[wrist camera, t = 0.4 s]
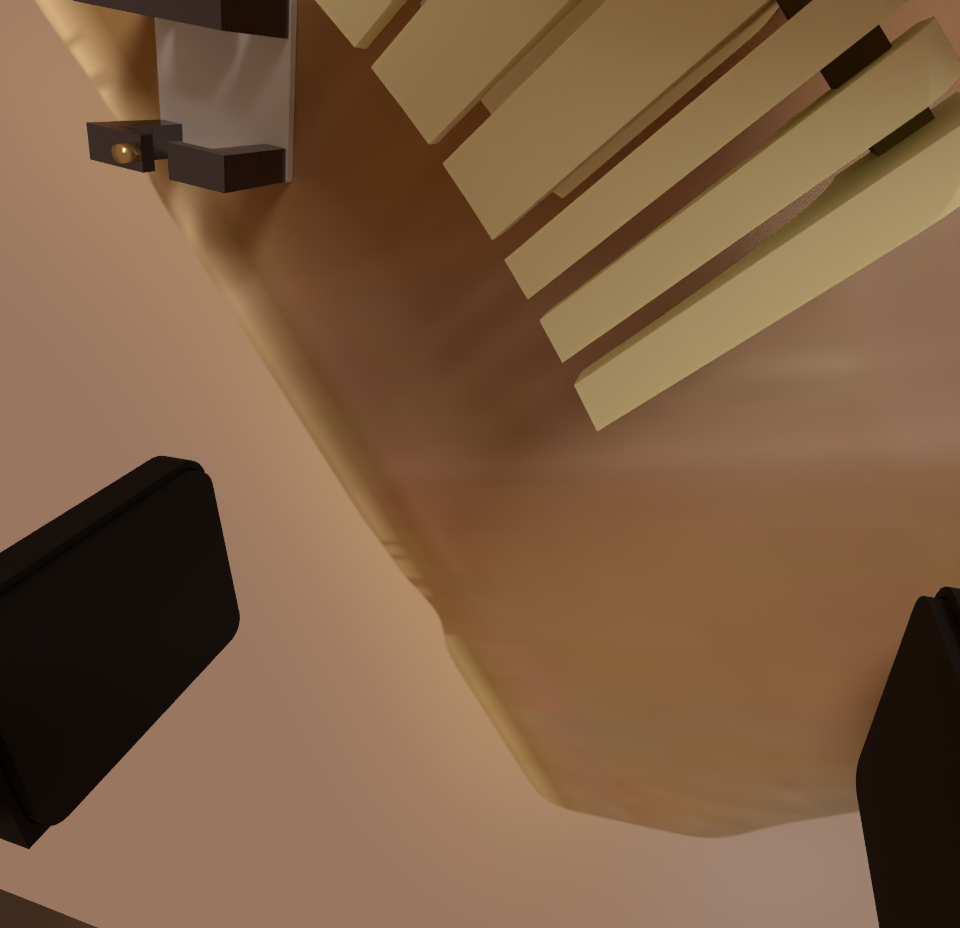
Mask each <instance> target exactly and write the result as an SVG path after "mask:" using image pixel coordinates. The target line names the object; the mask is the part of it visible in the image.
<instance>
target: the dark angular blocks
mask: <svg viewBox="0 0 960 928" xmlns="http://www.w3.org/2000/svg"><path fill="white" fill-rule="evenodd" d="M87 132H88V141H89V150H90V159H91V160H95V161H99V162H104V163H107V164H112V165H115V166H119V167H123V168H127V169H131V170H135V171H139V172H151V171H155V164H154V160H158V159H168V166H169V179H171V180H174V181H178V182H182V183H186V184H190V185H194V186H198V187H202V188H206V189H210V190H214V191H218V192H222V193H228V192H234V191H239V190H244V189H249V188H255V187H260V186H265V185H271V184H276V183H281V182H285V177H286V148H282V147H278V146H273V145H269V144H257V145H247V146H237V147H227V148H217V149H210V148H206V147H202V146H197V145H193V144H189V143H185V142H183V136H182V124H179V123H175V122H171V121H167V120H137V121H112V122H87Z"/></svg>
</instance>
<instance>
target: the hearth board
mask: <svg viewBox="0 0 960 928" xmlns="http://www.w3.org/2000/svg"><path fill="white" fill-rule="evenodd" d="M154 21H155V37H156V54H157V70H158V87H159V103H160V120H167V121H171V122H175V123H179V124H182V136H183V142H185V143H189V144H193V145H197V146H202V147H206V148H210V149H217V148H227V147H237V146H247V145H257V144H269V145H273V146H278V147H282V148H286V177H285V182H291V181H292V177H293V140H294V103H295V65H296V28H297V0H289V39H283V38H275V37H267V36H259V35H252V34H244V33H236V32H228V31H221V30H216V29H211V28H206V27H201V26H196V25H191V24H186V23H181V22H176V21H171V20H166V19H162V18H157V17H154Z"/></svg>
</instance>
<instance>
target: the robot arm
mask: <svg viewBox="0 0 960 928" xmlns="http://www.w3.org/2000/svg"><path fill="white" fill-rule="evenodd" d="M239 621H240V615H239V610H238V604H237V599H236V595H235V590H234V585H233V580H232V575H231V571H230V566H229V561H228V556H227V551H226V546H225V542H224V537H223V532H222V527H221V522H220V517H219V513H218V508H217V503H216V499H215V493H214V488H213V484H212V481H211V478H210V477H209V475H208V474H206V473H205V472H204V469H203V468H202V466H201V465H200V464H199V463H197V462H195V461H191V460H185V459H179V458H173V457H167V456H157V457H154V458H152V459H151V460H149V461H147V462H145V463H144V464H142V465H141V466H139V467H137V468H136V469H134V470H133V471H131V472H129V473H128V474H126V475H124V476H123V477H121V478H120V479H118V480H116V481H115V482H113V483H112V484H110V485H108V486H107V487H105V488H104V489H102V490H100V491H99V492H97V493H96V494H94V495H92V496H91V497H89V498H88V499H86V500H84V501H83V502H81V503H79V504H78V505H76V506H75V507H73V508H71V509H70V510H68V511H67V512H65V513H64V514H62V515H61V516H59V517H57V518H55V519H54V520H52V521H50V522H49V523H47V524H46V525H44V526H42V527H41V528H39V529H38V530H36V531H34V532H33V533H31V534H30V535H28V536H27V537H25V538H23V539H22V540H20V541H18V542H17V543H15V544H14V545H12V546H10V547H9V548H7V549H6V550H4V551H2V552H1V553H0V838H1V839H3V840H6V841H9V842H11V843H14V844H17V845H19V846H22V847H25V848H27V849H30V847H31V846H32V845H33V844H34V843H35V842H36V841H37V840H38V839H39V838H40V837H41V836H42V835H43V833H45V831H46V830H47V829H48V828H49V827H50V826H52V825H56V824H58V823H60V822H62V821H63V820H64V819H65V818H66V817H67V816H69V815H70V814H71V812H72V811H73V810H74V809H75V808H76V807H77V806H78V805H79V804H80V803H81V802H82V801H83V800H84V799H85V797H86V796H87V795H88V794H89V793H90V792H91V791H92V790H93V789H94V788H95V786H97V785H98V783H99V782H100V781H101V780H102V779H103V778H104V777H105V776H106V775H107V774H108V773H109V772H110V770H111V769H112V768H113V767H114V766H115V765H116V764H117V763H118V762H119V761H120V760H121V759H122V757H123V756H124V755H125V754H126V753H127V752H128V751H129V750H130V749H131V748H132V747H133V746H134V745H135V744H136V742H137V741H138V740H139V739H140V738H141V737H142V736H143V735H144V734H145V733H146V732H147V731H148V730H149V728H150V727H151V726H152V725H153V724H154V723H155V722H156V721H157V720H158V718H160V716H161V715H162V714H163V713H164V712H165V711H166V710H167V709H168V708H169V707H170V706H171V705H172V704H173V703H174V701H175V700H176V699H177V698H178V697H179V696H180V695H181V694H182V693H183V692H184V691H185V690H186V688H187V687H188V686H189V685H190V684H191V683H192V682H193V681H194V680H195V679H196V678H197V677H198V676H199V674H200V673H201V672H202V671H203V670H204V669H205V668H206V667H207V666H208V665H209V664H210V663H211V661H212V660H213V659H214V658H215V657H216V656H217V655H218V654H219V653H220V652H221V651H222V650H223V649H224V647H225V646H226V645H227V644H228V643H229V642H230V641H231V640H232V639H233V637H234V636H235V634H236V632H237V629H238V626H239ZM856 792H857V799H858V804H859V810H860V816H861V822H862V828H863V833H864V840H865V846H866V851H867V857H868V863H869V869H870V875H871V880H872V886H873V892H874V898H875V904H876V910H877V916H878V921H879V928H960V589H958V588H952V587H943V588H941V589H940V590H939V591H938V593H937V594H936V596H935V598H933V597H927V596H921V597H919V599H918V600H917V601H916V603H915V605H914V608H913V611H912V613H911V616H910V619H909V622H908V625H907V627H906V630H905V633H904V636H903V638H902V641H901V644H900V647H899V649H898V652H897V655H896V658H895V661H894V663H893V666H892V669H891V672H890V674H889V677H888V680H887V683H886V686H885V688H884V691H883V694H882V697H881V699H880V702H879V705H878V708H877V710H876V713H875V716H874V719H873V722H872V724H871V727H870V730H869V733H868V735H867V738H866V741H865V744H864V747H863V749H862V752H861V755H860V758H859V761H858V765H857V772H856ZM0 928H97V927H94V926H92V925H89V924H87V923H84V922H82V921H79V920H77V919H74V918H72V917H69V916H67V915H64V914H62V913H59V912H57V911H54V910H52V909H49V908H47V907H44V906H42V905H39V904H37V903H34V902H32V901H29V900H27V899H24V898H22V897H19V896H16V895H14V894H12V893H9V892H6V891H4V890H1V889H0Z"/></svg>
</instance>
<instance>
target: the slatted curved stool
mask: <svg viewBox="0 0 960 928" xmlns="http://www.w3.org/2000/svg"><path fill="white" fill-rule="evenodd" d="M315 1H316V2H317V3H318V4H319V6H320V7H321V8H322V9H323V10H324V12H325V13H326V14H327V15H328V16H329V18H330V19H331V20H332V21H333V22H334V24H335V25H336V26H337V27H338V28H339V30H340V31H341V32H342V33H343V34H344V36H345V37H346V38H347V39H348V40H349V42H350V43H351V44H352V45H353V46H354V47H355V48H363V49H367V48H368V47H369V46H370V44H371V43H372V42H373V41H374V40H375V38H376V37H377V36H378V35H379V34H380V32H381V31H382V30H383V29H384V28H385V26H386V25H387V24H388V23H389V22H390V20H391V19H392V18H393V17H394V16H395V15H396V13H397V12H398V11H399V10H400V9H401V7H402V6H403V5H404V4H405V3H406V2H407V0H315ZM906 1H907V0H422V1H421V3H420V5H421V8H420V9H419V10H418V12H417V13H416V14H415V15H414V16H413V18H412V19H411V20H410V21H409V22H408V24H407V25H406V26H405V27H404V28H403V29H402V31H401V32H400V33H399V34H398V35H397V37H396V38H395V39H394V40H393V41H392V43H391V44H390V45H389V46H388V47H387V48H386V50H385V51H384V52H383V53H382V54H381V56H380V57H379V58H378V59H377V60H376V62H375V63H374V64H373V65H372V66H371V69H372V70H373V71H374V73H375V74H376V75H377V76H378V78H379V79H380V80H381V82H382V83H383V84H384V85H385V87H386V88H387V89H388V91H389V92H390V93H391V94H392V96H393V97H394V98H395V100H396V101H397V102H398V104H399V105H400V106H401V107H402V109H403V110H404V112H405V113H406V114H407V116H408V117H409V118H410V120H411V121H412V122H413V124H414V125H415V127H416V128H417V129H418V131H419V132H420V133H421V135H422V136H423V137H424V139H425V140H426V142H427V143H428V144H429V145H430V144H437V143H438V142H439V141H440V140H441V139H442V138H443V137H444V136H445V135H446V134H447V133H448V132H449V131H450V130H451V129H452V128H453V127H454V126H455V125H456V124H457V123H458V122H459V121H460V120H461V119H462V118H463V117H464V116H465V115H466V114H467V113H468V112H469V111H470V110H471V109H472V108H473V107H474V106H475V105H476V104H477V103H478V102H479V101H480V100H481V101H482V103H483V104H484V106H485V107H486V108H487V110H488V111H489V112H490V114H491V116H490V117H489V118H488V119H487V120H486V121H485V122H484V123H483V124H482V125H481V126H480V127H479V128H478V129H477V130H476V131H475V132H474V133H473V134H472V135H471V136H470V137H469V138H468V139H467V140H466V141H465V142H463V143H462V144H461V145H460V146H459V147H458V148H457V149H456V150H455V151H454V152H453V153H452V154H451V155H450V156H449V157H448V158H447V159H446V160H445V161H444V162H443V163H442V164H443V166H444V167H445V169H446V170H447V172H448V173H449V175H450V176H451V177H452V179H453V180H454V182H455V183H456V185H457V186H458V188H459V189H460V191H461V192H462V194H463V195H464V197H465V198H466V200H467V201H468V203H469V204H470V206H471V207H472V209H473V211H474V212H475V214H476V215H477V217H478V219H479V220H480V222H481V223H482V225H483V226H484V228H485V230H486V231H487V233H488V234H489V236H490V237H491V239H492V240H494V239H495V238H497V237H499V236H500V235H502V234H504V233H505V232H506V231H508V230H509V229H510V228H511V227H512V226H513V225H514V224H516V223H517V222H518V221H519V220H520V219H521V218H523V217H524V216H525V215H526V214H527V213H528V212H529V211H531V210H532V209H533V208H534V207H535V206H536V205H538V204H539V203H540V202H541V201H542V200H543V199H545V198H546V197H547V196H548V195H549V194H550V193H551V192H554V193H555V194H557V195H558V196H559V197H561V198H562V199H563V198H564V197H565V196H566V195H568V194H569V193H570V192H571V191H572V190H573V189H575V188H576V187H577V186H578V185H579V184H580V183H582V182H583V181H584V180H585V179H586V178H588V177H589V176H590V175H591V174H592V173H593V172H595V171H596V170H597V169H598V168H599V167H600V166H602V165H603V164H604V163H605V162H606V161H607V160H609V159H610V158H611V157H612V156H613V155H614V154H616V153H617V152H618V151H619V150H620V149H622V148H623V147H624V146H625V145H626V144H627V143H629V142H630V141H631V140H632V139H633V138H634V137H636V136H637V135H638V134H639V133H640V132H641V131H643V130H644V129H645V128H646V127H647V126H648V125H650V124H651V123H652V122H653V121H654V120H656V119H657V118H658V117H659V116H660V115H661V114H663V113H664V112H665V111H666V110H667V109H668V108H670V107H671V106H672V105H673V104H674V103H675V102H677V101H678V100H679V99H680V98H681V97H682V96H684V95H685V94H686V93H687V92H688V91H689V90H691V89H692V88H693V87H694V86H695V85H697V84H698V83H699V82H700V81H701V80H702V79H704V78H705V77H706V76H707V75H708V74H709V73H711V72H712V71H713V70H714V69H715V68H716V67H718V66H719V65H720V64H721V63H722V62H723V61H725V60H726V59H727V58H728V57H729V56H731V55H732V54H733V53H734V52H735V51H736V50H738V49H739V48H740V47H741V46H742V45H743V44H745V43H746V42H747V41H748V40H749V39H750V38H752V37H753V36H754V35H755V34H756V33H757V32H758V31H759V30H760V29H761V28H762V27H763V26H764V25H765V24H766V23H767V22H768V21H769V19H770V18H771V17H772V15H773V14H774V13H775V12H776V10H777V9H778V8H779V6H780V8H781V10H782V11H783V13H784V14H785V16H786V18H787V19H788V21H787V22H786V23H785V24H784V25H783V26H781V27H780V28H779V29H778V30H777V31H775V32H774V33H773V34H772V35H771V36H769V37H768V38H767V39H766V40H765V41H764V42H762V43H761V44H760V45H759V46H758V47H756V48H755V49H754V50H753V51H752V52H750V53H749V54H748V55H747V56H746V57H745V58H743V59H742V60H741V61H740V62H739V63H737V64H736V65H735V66H734V67H733V68H731V69H730V70H729V71H728V72H727V73H726V74H724V75H723V76H722V77H721V78H720V79H718V80H717V81H716V82H715V83H714V84H712V85H711V86H710V87H709V88H708V89H707V90H705V91H704V92H703V93H702V94H701V95H699V96H698V97H697V98H696V99H695V100H693V101H692V102H691V103H690V104H689V105H687V106H686V107H685V108H684V109H683V110H682V111H680V112H679V113H678V114H677V115H676V116H674V117H673V118H672V119H671V120H670V121H668V122H667V123H666V124H665V125H664V126H663V127H661V128H660V129H659V130H658V131H657V132H655V133H654V134H653V135H652V136H651V137H649V138H648V139H647V140H646V141H645V142H644V143H642V144H641V145H640V146H639V147H638V148H636V149H635V150H634V151H633V152H632V153H630V154H629V155H628V156H627V157H626V158H625V159H623V160H622V161H621V162H620V163H619V164H617V165H616V166H615V167H614V168H613V169H611V170H610V171H609V172H608V173H607V174H606V175H604V176H603V177H602V178H601V179H600V180H598V181H597V182H596V183H595V184H594V185H592V186H591V187H590V188H589V189H588V190H587V191H585V192H584V193H583V194H582V195H581V196H579V197H578V198H577V199H576V200H575V201H573V202H572V203H571V204H570V205H569V206H568V207H566V208H565V209H564V210H563V211H562V212H560V213H559V214H558V215H557V216H556V217H554V218H553V219H552V220H551V221H550V222H549V223H547V224H546V225H545V226H544V227H543V228H541V229H540V230H539V231H538V232H537V233H535V234H534V235H533V236H532V237H531V238H530V239H528V240H527V241H526V242H525V243H524V244H522V245H521V246H520V247H519V248H518V249H516V250H515V251H514V252H513V253H512V254H511V255H509V256H508V257H507V258H506V259H505V262H506V264H507V265H508V267H509V269H510V270H511V272H512V274H513V276H514V277H515V279H516V281H517V282H518V284H519V286H520V288H521V289H522V291H523V293H524V294H525V296H526V298H527V300H528V299H529V298H531V297H532V296H533V295H534V294H536V293H537V292H538V291H540V290H541V289H542V288H543V287H545V286H546V285H547V284H548V283H550V282H551V281H552V280H554V279H555V278H556V277H557V276H559V275H560V274H561V273H562V272H564V271H565V270H566V269H568V268H569V267H570V266H571V265H573V264H574V263H575V262H576V261H578V260H579V259H580V258H582V257H583V256H584V255H585V254H587V253H588V252H589V251H591V250H592V249H593V248H594V247H596V246H597V245H598V244H599V243H601V242H602V241H603V240H605V239H606V238H607V237H608V236H610V235H611V234H612V233H613V232H615V231H616V230H617V229H619V228H620V227H621V226H622V225H624V224H625V223H626V222H628V221H629V220H630V219H631V218H633V217H634V216H635V215H636V214H638V213H639V212H640V211H642V210H643V209H644V208H645V207H647V206H648V205H649V204H650V203H652V202H653V201H654V200H656V199H657V198H658V197H659V196H661V195H662V194H663V193H664V192H666V191H667V190H668V189H670V188H671V187H672V186H673V185H675V184H676V183H677V182H679V181H680V180H681V179H682V178H684V177H685V176H686V175H687V174H689V173H690V172H691V171H693V170H694V169H695V168H696V167H698V166H699V165H700V164H701V163H703V162H704V161H705V160H707V159H708V158H709V157H710V156H712V155H713V154H714V153H715V152H717V151H718V150H719V149H721V148H722V147H723V146H724V145H726V144H727V143H728V142H730V141H731V140H732V139H733V138H735V137H736V136H737V135H738V134H740V133H741V132H742V131H744V130H745V129H746V128H747V127H749V126H750V125H751V124H752V123H754V122H755V121H756V120H758V119H759V118H760V117H761V116H763V115H764V114H765V113H766V112H768V111H769V110H770V109H772V108H773V107H774V106H775V105H777V104H778V103H779V102H781V101H782V100H783V99H784V98H786V97H787V96H788V95H789V94H791V93H792V92H793V91H795V90H796V89H797V88H798V87H800V86H801V85H802V84H803V83H805V82H806V81H807V80H809V79H810V78H811V77H812V76H814V75H815V74H816V73H818V72H819V71H820V72H821V73H822V75H823V77H824V78H825V80H826V81H827V83H828V85H829V86H830V88H831V89H830V90H829V91H827V92H826V93H825V94H824V95H822V96H821V97H820V98H818V99H817V100H816V101H814V102H813V103H812V104H810V105H809V106H808V107H806V108H805V109H804V110H803V111H801V112H800V113H799V114H797V115H796V116H795V117H793V118H792V119H791V120H789V121H788V122H787V123H786V124H785V125H784V126H783V127H782V128H781V129H780V130H778V131H777V132H776V133H775V134H774V135H773V136H771V137H770V138H769V139H768V140H767V141H766V142H764V143H763V144H762V145H761V146H760V147H758V148H757V149H756V150H755V151H754V152H752V153H751V154H750V155H749V156H747V157H746V158H745V159H744V160H742V161H741V162H740V163H739V164H737V165H736V166H735V167H734V168H732V169H731V170H730V171H729V172H727V173H726V174H725V175H724V176H722V177H721V178H720V179H719V180H717V181H716V182H715V183H714V184H712V185H711V186H710V187H708V188H707V189H706V190H705V191H703V192H702V193H701V194H700V195H698V196H697V197H696V198H694V199H693V200H692V201H691V202H689V203H688V204H687V205H685V206H684V207H683V208H682V209H680V210H679V211H678V212H676V213H675V214H674V215H673V216H671V217H670V218H669V219H667V220H666V221H665V222H663V223H662V224H661V225H660V226H658V227H657V228H656V229H654V230H653V231H652V232H651V233H649V234H648V235H647V236H645V237H644V238H643V239H641V240H640V241H639V242H638V243H636V244H635V245H634V246H632V247H631V248H630V249H628V250H627V251H626V252H625V253H623V254H622V255H621V256H619V257H618V258H617V259H615V260H614V261H613V262H611V263H610V264H609V265H608V266H606V267H605V268H604V269H602V270H601V271H600V272H598V273H597V274H596V275H594V276H593V277H592V278H591V279H589V280H588V281H587V282H585V283H584V284H583V285H581V286H580V287H579V288H577V289H576V290H575V291H573V292H572V293H571V294H570V295H568V296H567V297H566V298H564V299H563V300H562V301H560V302H559V303H558V304H556V305H555V306H554V307H552V308H551V309H550V310H549V311H547V312H546V313H545V314H544V316H543V317H542V318H541V319H540V320H539V321H540V323H541V325H542V326H543V328H544V330H545V332H546V334H547V336H548V337H549V339H550V341H551V343H552V345H553V347H554V349H555V350H556V352H557V354H558V356H559V358H560V360H561V361H562V363H563V362H564V361H566V360H567V359H569V358H570V357H572V356H573V355H574V354H576V353H577V352H579V351H580V350H582V349H583V348H584V347H586V346H587V345H589V344H590V343H592V342H593V341H594V340H596V339H597V338H599V337H600V336H602V335H603V334H604V333H606V332H607V331H609V330H610V329H612V328H613V327H614V326H616V325H617V324H619V323H620V322H622V321H623V320H624V319H626V318H627V317H629V316H630V315H632V314H633V313H634V312H636V311H637V310H639V309H640V308H642V307H643V306H644V305H646V304H647V303H649V302H650V301H652V300H653V299H654V298H656V297H657V296H659V295H660V294H662V293H663V292H664V291H666V290H667V289H669V288H670V287H672V286H673V285H674V284H676V283H677V282H679V281H680V280H682V279H683V278H684V277H686V276H687V275H689V274H690V273H692V272H693V271H694V270H696V269H697V268H699V267H700V266H702V265H703V264H704V263H706V262H707V261H709V260H710V259H712V258H713V257H714V256H716V255H717V254H719V253H720V252H722V251H723V250H724V249H726V248H727V247H729V246H730V245H732V244H733V243H734V242H736V241H737V240H739V239H740V238H742V237H743V236H744V235H746V234H747V233H749V232H750V231H752V230H753V229H754V228H756V227H757V226H759V225H760V224H762V223H763V222H764V221H766V220H767V219H769V218H770V217H772V216H773V215H774V214H776V213H777V212H779V211H780V210H782V209H783V208H784V207H786V206H787V205H789V204H790V203H792V202H793V201H794V200H796V199H797V198H799V197H800V196H802V195H803V194H804V193H806V192H807V191H809V190H810V189H812V188H813V187H814V186H816V185H817V184H819V183H820V182H822V181H823V180H824V179H826V178H827V177H829V176H830V175H832V174H833V173H834V172H836V171H837V170H839V169H840V168H842V167H843V166H844V165H846V164H847V163H849V162H850V161H852V160H853V159H854V158H856V157H857V156H859V155H860V154H862V153H863V152H864V151H866V150H867V149H869V150H870V152H869V153H868V154H867V155H865V156H864V157H862V158H861V159H859V160H858V161H857V162H855V163H854V164H852V165H851V166H849V167H848V168H846V169H845V170H844V171H842V172H841V173H839V174H838V175H836V176H835V178H834V180H833V181H832V183H831V184H830V185H829V186H828V188H827V189H826V190H825V191H824V192H823V193H822V194H821V195H820V196H819V197H818V198H817V199H816V200H815V201H814V202H813V203H812V204H810V205H809V206H808V207H807V208H806V209H805V210H804V211H802V212H801V213H800V214H799V215H798V216H796V217H795V218H794V219H793V220H792V221H790V222H789V223H788V224H787V225H785V226H784V227H783V228H781V229H780V230H779V231H778V232H776V233H775V234H774V235H772V236H771V237H770V238H769V239H767V240H766V241H765V242H763V243H762V244H761V245H759V246H758V247H757V248H755V249H754V250H753V251H751V252H750V253H749V254H747V255H746V256H745V257H743V258H742V259H740V260H739V261H738V262H736V263H735V264H734V265H732V266H731V267H729V268H728V269H727V270H725V271H724V272H723V273H721V274H720V275H718V276H717V277H716V278H714V279H713V280H711V281H710V282H709V283H707V284H706V285H704V286H703V287H702V288H700V289H699V290H697V291H696V292H695V293H693V294H692V295H690V296H689V297H688V298H686V299H685V300H683V301H682V302H680V303H679V304H678V305H676V306H675V307H673V308H672V309H671V310H669V311H668V312H666V313H665V314H663V315H662V316H661V317H659V318H658V319H656V320H655V321H653V322H652V323H650V324H649V325H648V326H646V327H645V328H643V329H642V330H640V331H639V332H638V333H636V334H635V335H633V336H632V337H630V338H629V339H627V340H626V341H625V342H623V343H622V344H620V345H619V346H617V347H616V348H614V349H613V350H611V351H610V352H609V353H607V354H606V355H604V356H603V357H601V358H600V359H598V360H597V361H595V362H594V363H593V364H591V365H590V366H588V367H587V368H585V369H584V370H582V372H581V373H580V375H579V377H578V379H577V380H576V382H575V384H574V386H575V388H576V390H577V392H578V394H579V396H580V398H581V400H582V402H583V404H584V406H585V408H586V410H587V412H588V414H589V416H590V418H591V420H592V422H593V424H594V426H595V428H596V430H597V431H599V430H601V429H602V428H604V427H605V426H607V425H609V424H610V423H612V422H614V421H615V420H617V419H618V418H620V417H622V416H623V415H625V414H627V413H628V412H630V411H631V410H633V409H635V408H636V407H638V406H640V405H641V404H643V403H644V402H646V401H648V400H649V399H651V398H653V397H654V396H656V395H657V394H659V393H661V392H662V391H664V390H666V389H667V388H669V387H670V386H672V385H674V384H675V383H677V382H679V381H680V380H682V379H683V378H685V377H687V376H688V375H690V374H691V373H693V372H695V371H696V370H698V369H700V368H701V367H703V366H704V365H706V364H708V363H709V362H711V361H713V360H714V359H716V358H717V357H719V356H721V355H722V354H724V353H726V352H727V351H729V350H730V349H732V348H734V347H735V346H737V345H739V344H740V343H742V342H743V341H745V340H747V339H748V338H750V337H752V336H753V335H755V334H756V333H758V332H760V331H761V330H763V329H765V328H766V327H768V326H769V325H771V324H773V323H774V322H776V321H778V320H779V319H781V318H782V317H784V316H786V315H787V314H789V313H791V312H792V311H794V310H795V309H797V308H799V307H800V306H802V305H804V304H805V303H807V302H808V301H810V300H812V299H813V298H815V297H817V296H818V295H820V294H821V293H823V292H825V291H826V290H828V289H830V288H831V287H833V286H834V285H836V284H838V283H839V282H841V281H843V280H844V279H846V278H847V277H849V276H851V275H852V274H854V273H856V272H857V271H859V270H860V269H862V268H864V267H865V266H867V265H868V264H870V263H872V262H873V261H875V260H877V259H878V258H880V257H881V256H883V255H885V254H886V253H888V252H890V251H891V250H893V249H894V248H896V247H898V246H899V245H901V244H903V243H904V242H906V241H907V240H909V239H911V238H912V237H914V236H916V235H917V234H919V233H920V232H922V231H923V230H925V229H927V228H928V227H930V226H931V225H933V224H934V223H936V222H937V221H939V220H941V219H942V218H943V217H945V216H946V215H948V214H949V213H951V212H952V211H953V210H955V209H956V208H958V207H959V206H960V92H956V93H954V94H953V95H951V96H950V97H948V98H947V99H946V100H944V101H943V102H941V103H940V104H938V105H937V106H935V107H934V108H933V109H931V110H930V109H929V106H930V105H931V104H932V103H933V102H935V101H936V100H937V99H938V98H939V97H940V96H942V95H943V94H944V93H945V92H946V91H947V90H948V89H949V88H950V87H951V86H952V85H953V84H954V83H955V82H956V81H957V80H958V79H959V78H960V59H959V57H958V56H957V54H956V52H955V50H954V49H953V47H952V45H951V44H950V42H949V40H948V39H947V37H946V35H945V33H944V32H943V30H942V28H941V27H940V25H939V23H938V21H937V20H936V18H935V17H931V18H929V19H926V20H924V21H921V22H919V23H916V24H915V25H914V26H912V27H911V28H910V29H909V30H907V31H906V32H905V33H903V34H902V35H901V36H899V37H898V38H897V39H895V40H894V41H893V42H892V43H890V42H889V40H888V39H887V37H886V35H885V34H884V32H883V30H882V29H881V27H880V26H879V24H880V23H881V22H883V21H884V20H885V19H886V18H888V17H889V16H890V15H891V14H892V13H893V12H895V11H896V10H897V9H898V8H899V7H900V6H902V5H903V4H904V3H905V2H906Z"/></svg>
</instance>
